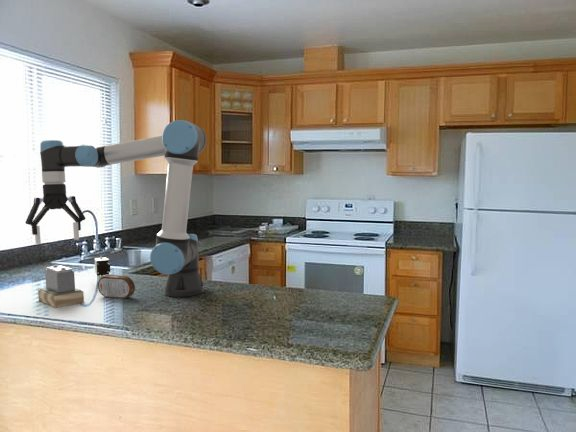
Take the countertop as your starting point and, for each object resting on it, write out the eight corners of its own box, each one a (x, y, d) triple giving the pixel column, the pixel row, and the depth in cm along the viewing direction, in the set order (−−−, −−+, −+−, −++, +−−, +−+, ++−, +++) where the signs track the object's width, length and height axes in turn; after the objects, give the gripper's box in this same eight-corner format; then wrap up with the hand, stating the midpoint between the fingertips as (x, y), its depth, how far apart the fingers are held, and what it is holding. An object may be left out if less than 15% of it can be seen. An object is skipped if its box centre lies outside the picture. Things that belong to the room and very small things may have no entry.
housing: (62, 285, 184) (61, 263, 183) (75, 290, 176) (73, 267, 175) (46, 288, 180) (44, 265, 179) (58, 293, 171) (56, 269, 171)
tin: (135, 297, 181) (134, 275, 181) (130, 299, 178) (129, 277, 178) (102, 295, 186) (101, 274, 185) (96, 297, 183) (95, 275, 182)
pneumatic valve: (98, 287, 200) (96, 258, 199) (95, 282, 210) (94, 255, 209) (112, 285, 202) (110, 257, 201) (108, 280, 213) (107, 254, 212)
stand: (83, 301, 176) (83, 290, 176) (55, 307, 169) (54, 295, 169) (66, 295, 187) (65, 284, 187) (38, 300, 180) (38, 288, 180)
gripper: (83, 182, 186) (87, 237, 188) (12, 184, 168) (17, 244, 170) (92, 182, 181) (95, 238, 183) (20, 184, 163) (24, 246, 165)
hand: (57, 241), depth 176 cm, fingers open, 13 cm apart
